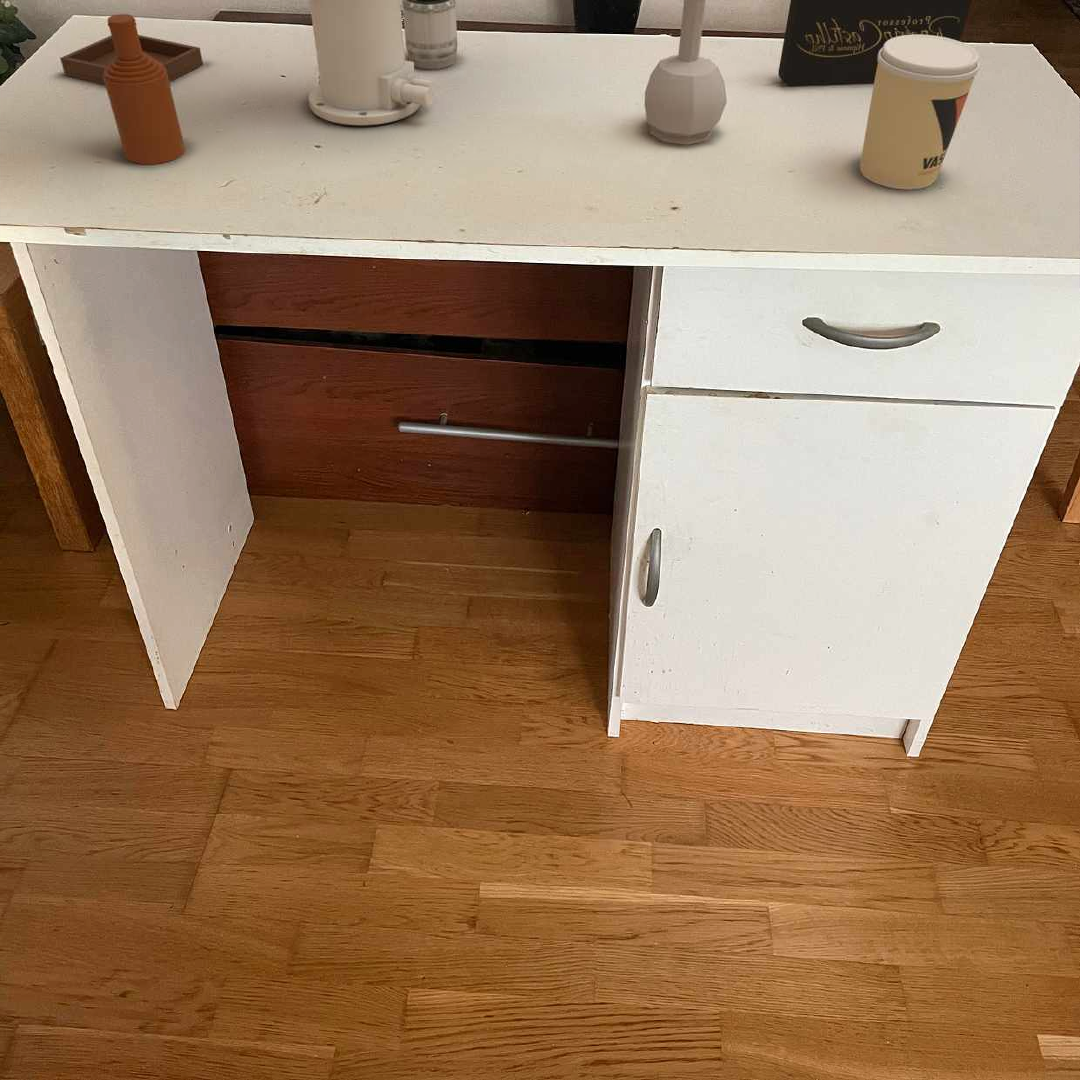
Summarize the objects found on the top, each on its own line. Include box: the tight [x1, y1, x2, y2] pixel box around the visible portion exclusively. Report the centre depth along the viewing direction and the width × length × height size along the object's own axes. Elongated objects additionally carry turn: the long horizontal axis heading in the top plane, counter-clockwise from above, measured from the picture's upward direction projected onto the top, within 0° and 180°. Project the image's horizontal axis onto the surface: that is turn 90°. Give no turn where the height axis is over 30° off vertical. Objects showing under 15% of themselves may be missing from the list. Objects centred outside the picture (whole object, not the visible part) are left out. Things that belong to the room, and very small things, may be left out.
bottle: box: [103, 13, 186, 165], centre depth 101 cm, size 6×6×13 cm
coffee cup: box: [859, 35, 981, 191], centre depth 100 cm, size 9×9×12 cm
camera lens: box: [401, 0, 458, 70], centre depth 122 cm, size 6×6×8 cm
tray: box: [60, 34, 204, 85], centre depth 120 cm, size 12×10×2 cm
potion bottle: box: [644, 0, 728, 145], centre depth 104 cm, size 9×9×18 cm
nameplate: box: [777, 0, 973, 88], centre depth 118 cm, size 21×2×10 cm, turn 98°
